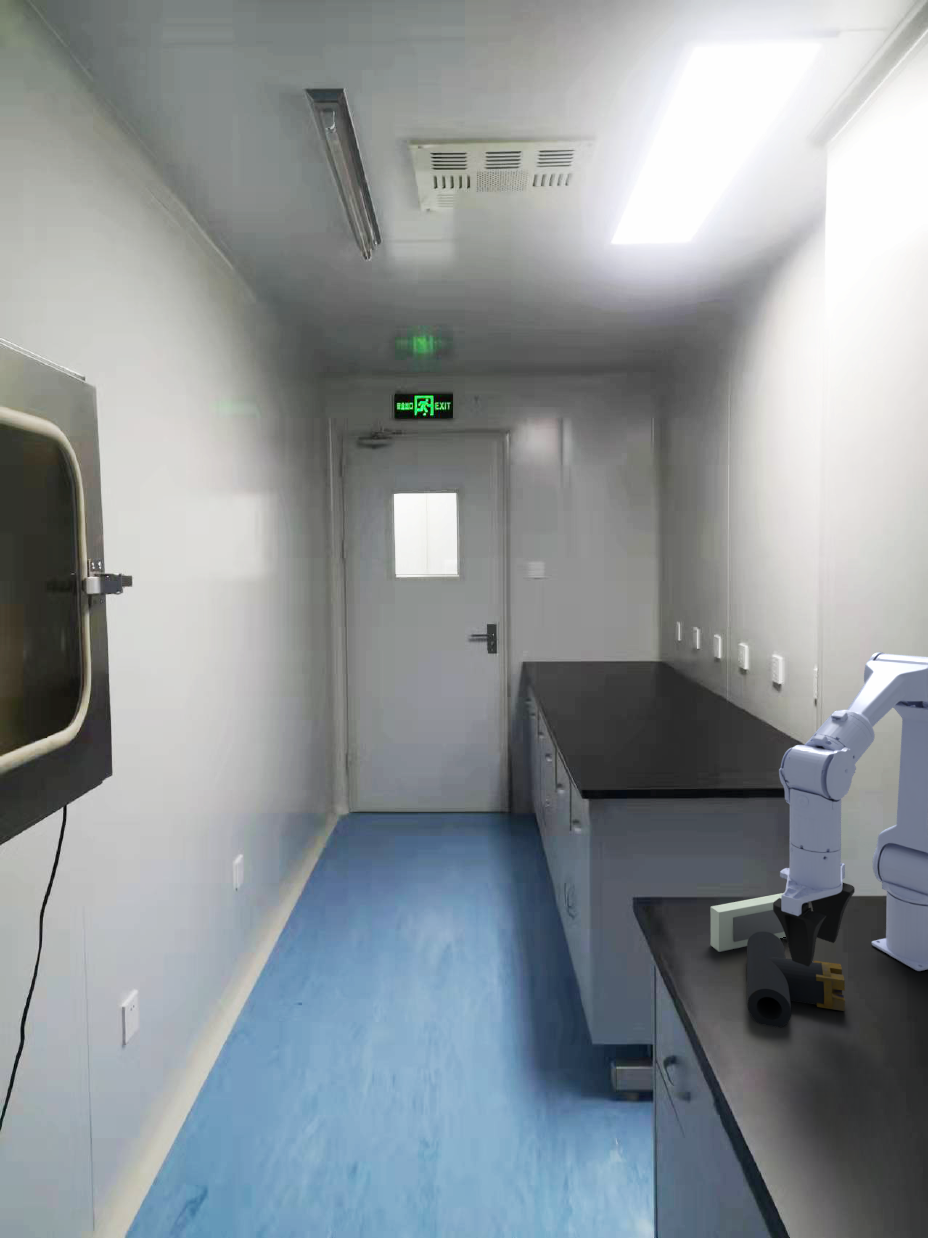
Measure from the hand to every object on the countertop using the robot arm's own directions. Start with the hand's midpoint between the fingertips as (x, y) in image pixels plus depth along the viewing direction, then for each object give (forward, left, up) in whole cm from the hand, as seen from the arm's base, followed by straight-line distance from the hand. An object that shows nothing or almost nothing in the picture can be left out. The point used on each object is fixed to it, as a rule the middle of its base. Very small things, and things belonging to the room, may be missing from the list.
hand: (814, 950), depth 90 cm
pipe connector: (-1, -5, -10) cm, 11 cm away
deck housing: (-6, -19, -9) cm, 22 cm away
